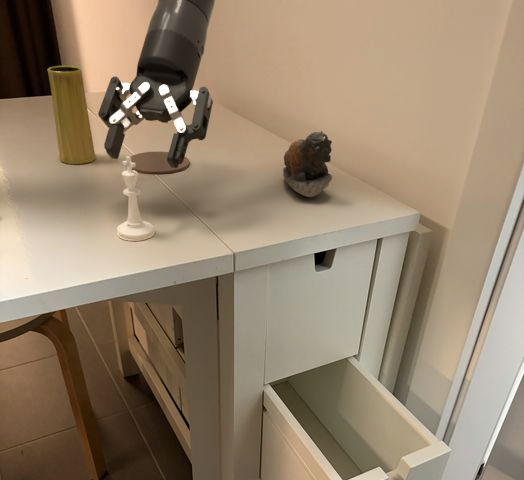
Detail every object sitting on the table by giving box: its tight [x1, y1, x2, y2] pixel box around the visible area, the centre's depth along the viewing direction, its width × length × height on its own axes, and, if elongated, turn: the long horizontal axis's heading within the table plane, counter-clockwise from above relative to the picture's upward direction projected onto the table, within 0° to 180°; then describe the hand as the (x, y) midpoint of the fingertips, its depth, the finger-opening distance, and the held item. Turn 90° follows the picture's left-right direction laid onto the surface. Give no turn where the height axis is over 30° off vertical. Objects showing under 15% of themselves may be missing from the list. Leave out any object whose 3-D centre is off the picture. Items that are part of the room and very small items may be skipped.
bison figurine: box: [282, 130, 333, 198], centre depth 86 cm, size 12×7×10 cm, turn 14°
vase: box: [47, 65, 97, 165], centre depth 92 cm, size 6×6×14 cm
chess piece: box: [116, 155, 156, 242], centre depth 70 cm, size 5×5×10 cm
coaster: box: [125, 151, 190, 175], centre depth 96 cm, size 11×11×1 cm
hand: (141, 160), depth 71 cm, fingers open, 8 cm apart
